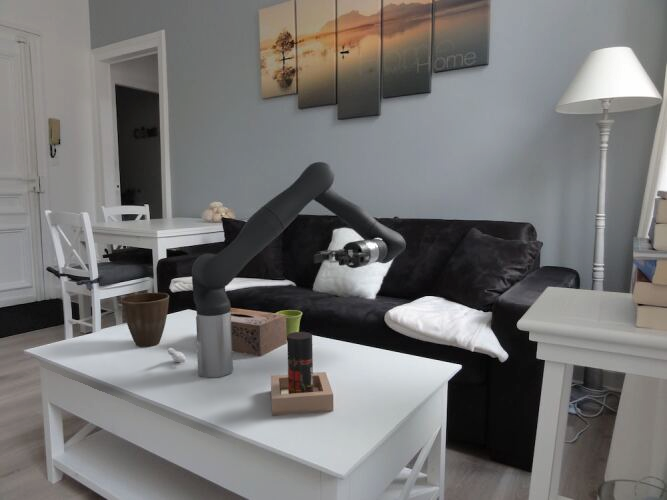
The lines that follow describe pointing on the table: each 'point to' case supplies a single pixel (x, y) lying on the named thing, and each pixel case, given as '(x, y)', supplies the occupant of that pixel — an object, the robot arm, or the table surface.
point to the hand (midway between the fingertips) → (326, 260)
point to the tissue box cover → (256, 331)
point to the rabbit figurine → (176, 355)
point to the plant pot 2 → (292, 320)
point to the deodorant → (300, 362)
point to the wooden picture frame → (301, 396)
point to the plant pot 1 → (146, 317)
